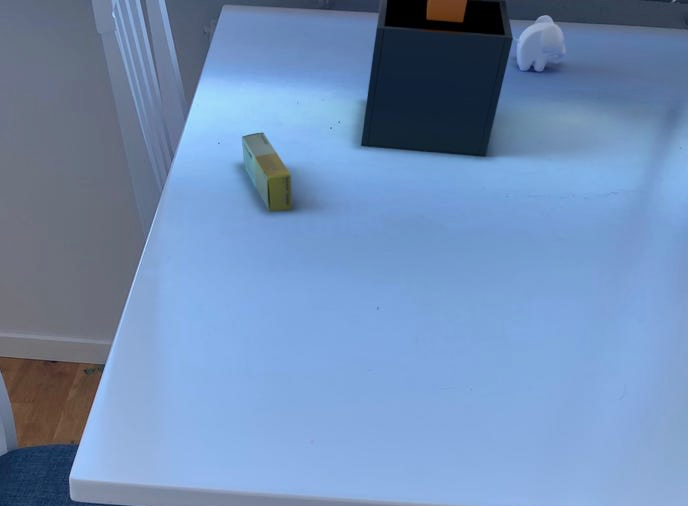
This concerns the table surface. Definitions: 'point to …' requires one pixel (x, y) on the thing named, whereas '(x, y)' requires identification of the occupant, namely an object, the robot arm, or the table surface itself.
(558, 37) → the elephant figurine
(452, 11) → the block
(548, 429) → the table surface
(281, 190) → the medication box
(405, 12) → the trash can
